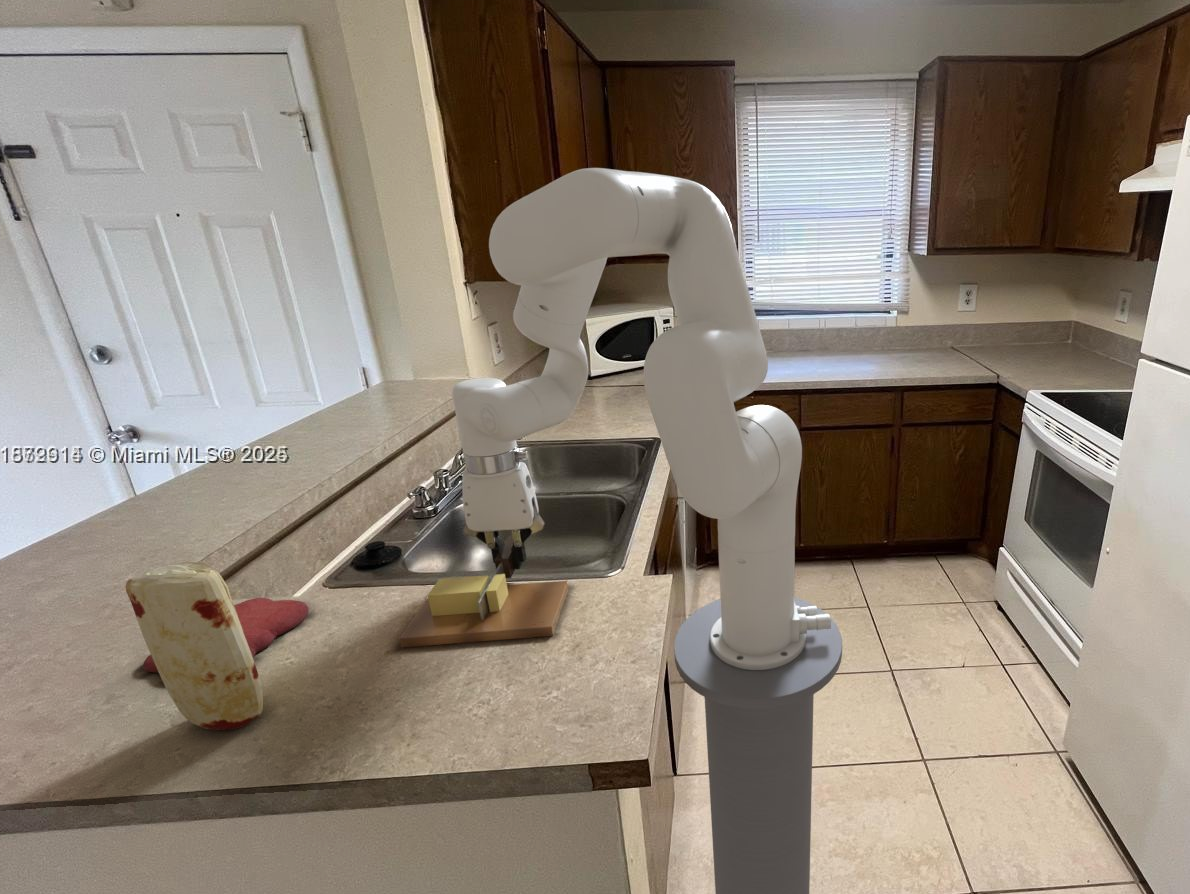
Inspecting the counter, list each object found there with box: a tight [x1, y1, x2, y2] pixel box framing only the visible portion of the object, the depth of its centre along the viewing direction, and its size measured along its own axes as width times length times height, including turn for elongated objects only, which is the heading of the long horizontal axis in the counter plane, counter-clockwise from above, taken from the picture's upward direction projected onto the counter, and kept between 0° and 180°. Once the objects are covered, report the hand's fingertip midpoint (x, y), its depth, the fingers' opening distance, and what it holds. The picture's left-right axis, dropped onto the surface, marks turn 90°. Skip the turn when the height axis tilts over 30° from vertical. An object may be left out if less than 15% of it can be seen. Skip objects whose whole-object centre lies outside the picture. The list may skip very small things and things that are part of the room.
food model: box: [125, 561, 264, 731], centre depth 67 cm, size 10×7×20 cm
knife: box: [478, 535, 516, 620], centre depth 94 cm, size 19×2×3 cm, turn 7°
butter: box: [427, 574, 491, 616], centre depth 89 cm, size 7×4×4 cm, turn 97°
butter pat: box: [486, 574, 508, 612], centre depth 89 cm, size 1×4×4 cm, turn 7°
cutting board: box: [398, 580, 570, 648], centre depth 89 cm, size 20×12×2 cm, turn 97°
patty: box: [142, 597, 310, 674], centre depth 84 cm, size 18×14×2 cm
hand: (511, 564), depth 99 cm, fingers closed on knife, 2 cm apart
